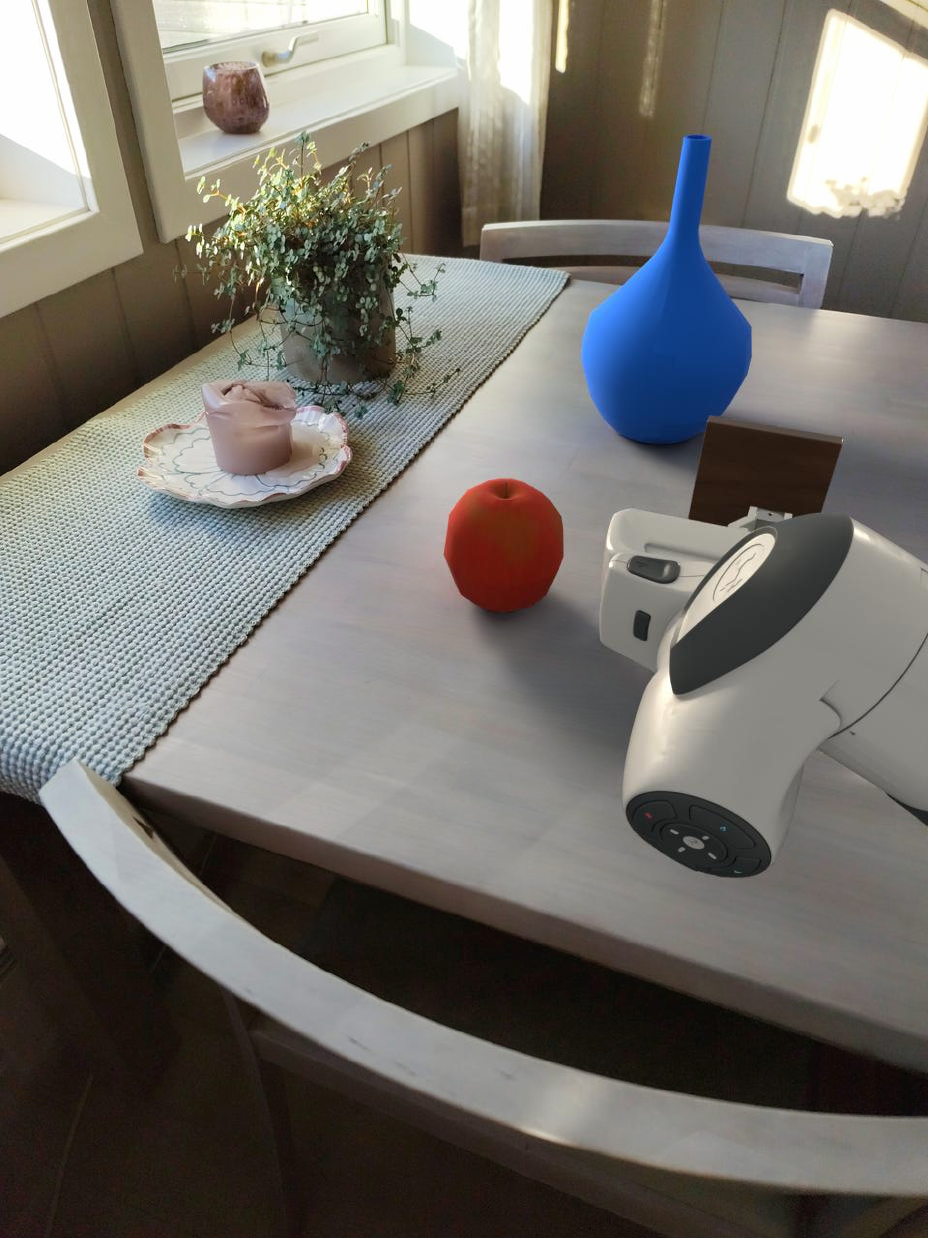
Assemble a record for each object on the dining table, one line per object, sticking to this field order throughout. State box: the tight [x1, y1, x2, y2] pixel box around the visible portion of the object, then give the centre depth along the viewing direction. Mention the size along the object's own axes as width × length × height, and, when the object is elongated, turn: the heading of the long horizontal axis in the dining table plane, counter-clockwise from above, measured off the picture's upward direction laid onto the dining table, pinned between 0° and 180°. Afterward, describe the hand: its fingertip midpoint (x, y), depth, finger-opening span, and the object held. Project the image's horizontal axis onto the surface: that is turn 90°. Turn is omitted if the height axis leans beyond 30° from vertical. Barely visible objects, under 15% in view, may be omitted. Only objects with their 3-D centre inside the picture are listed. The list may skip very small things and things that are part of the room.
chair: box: [687, 415, 844, 527], centre depth 74 cm, size 10×10×16 cm
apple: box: [443, 477, 565, 613], centre depth 73 cm, size 10×10×12 cm
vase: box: [580, 134, 753, 445], centre depth 91 cm, size 18×18×30 cm
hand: (769, 518), depth 62 cm, fingers closed
